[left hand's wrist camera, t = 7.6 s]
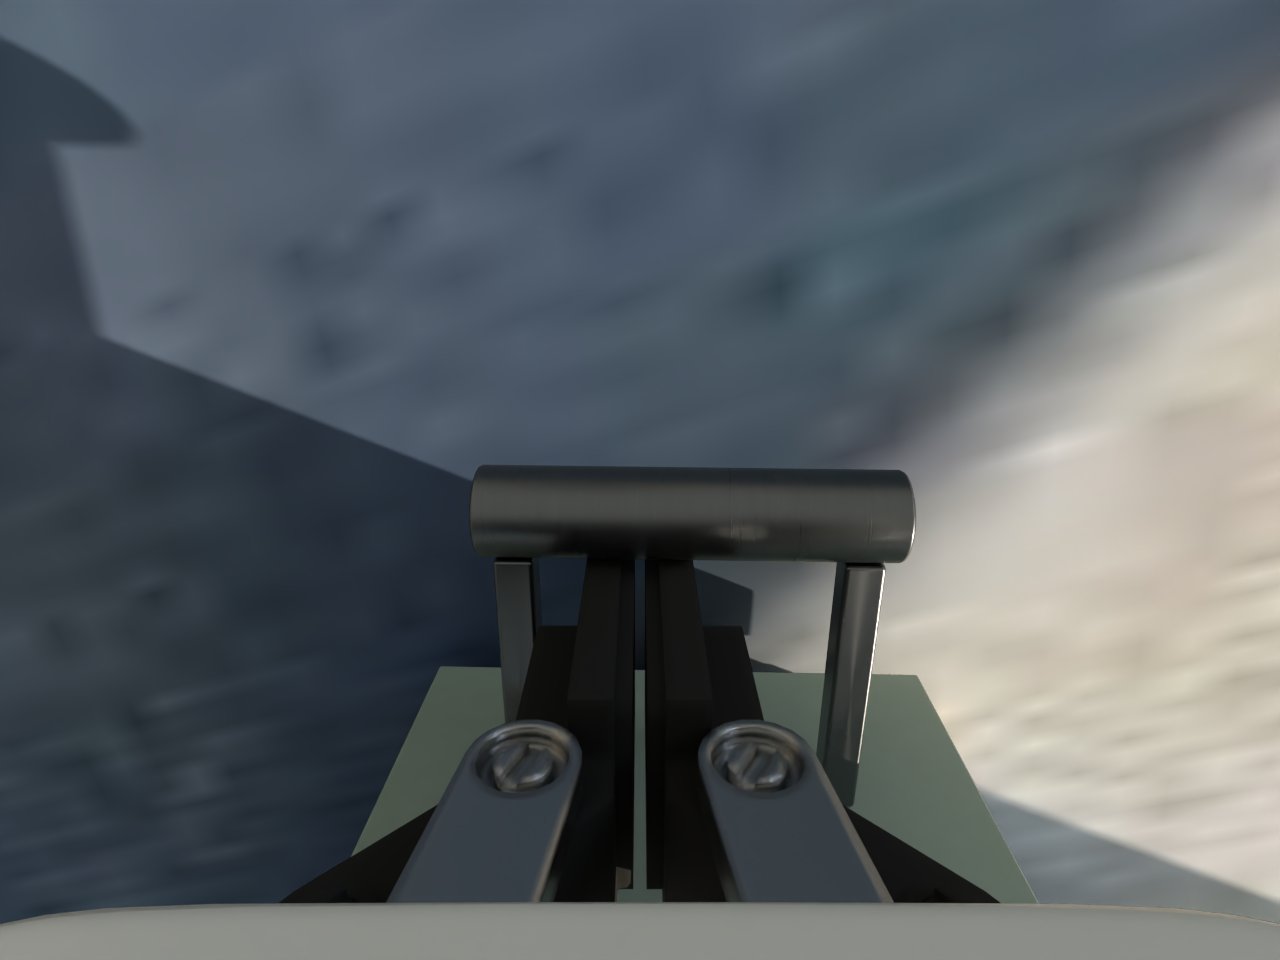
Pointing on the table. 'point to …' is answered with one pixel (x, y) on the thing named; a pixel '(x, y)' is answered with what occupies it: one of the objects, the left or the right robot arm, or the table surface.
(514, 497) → the drawer
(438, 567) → the table surface
